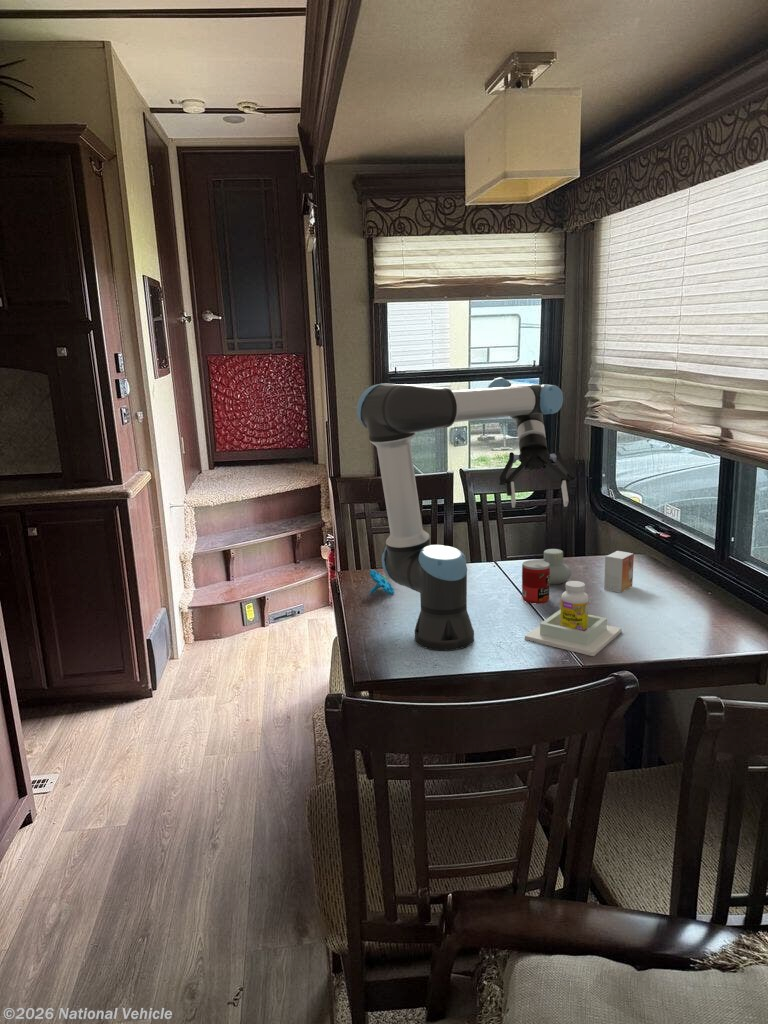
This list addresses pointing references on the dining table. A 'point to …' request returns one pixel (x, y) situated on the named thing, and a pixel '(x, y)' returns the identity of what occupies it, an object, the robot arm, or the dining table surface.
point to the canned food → (535, 581)
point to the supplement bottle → (574, 606)
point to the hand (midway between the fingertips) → (540, 504)
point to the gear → (380, 583)
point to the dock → (574, 635)
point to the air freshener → (557, 566)
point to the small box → (618, 571)
